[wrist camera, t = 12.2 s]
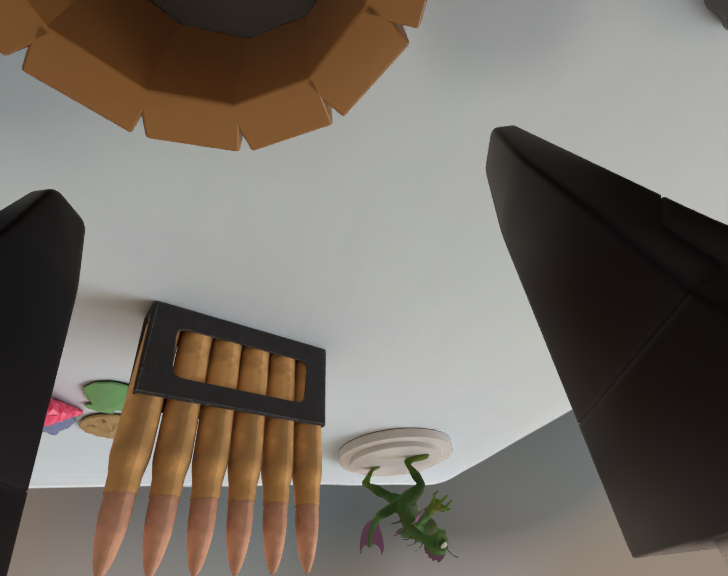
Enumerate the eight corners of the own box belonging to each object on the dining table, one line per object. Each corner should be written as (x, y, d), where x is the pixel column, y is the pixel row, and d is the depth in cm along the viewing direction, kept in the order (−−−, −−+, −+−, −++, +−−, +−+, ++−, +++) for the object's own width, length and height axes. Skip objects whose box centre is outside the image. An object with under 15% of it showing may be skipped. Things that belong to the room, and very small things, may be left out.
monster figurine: (433, 464, 49) (453, 566, 43) (333, 469, 47) (338, 578, 41) (466, 426, 40) (497, 548, 34) (344, 430, 38) (352, 562, 32)
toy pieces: (-51, 414, 29) (-88, 480, 26) (-10, 347, 24) (-53, 422, 21) (125, 444, 36) (111, 499, 33) (189, 399, 31) (177, 460, 28)
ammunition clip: (144, 318, 23) (63, 584, 15) (154, 300, 22) (72, 577, 14) (311, 362, 28) (314, 575, 21) (326, 350, 27) (334, 570, 19)
